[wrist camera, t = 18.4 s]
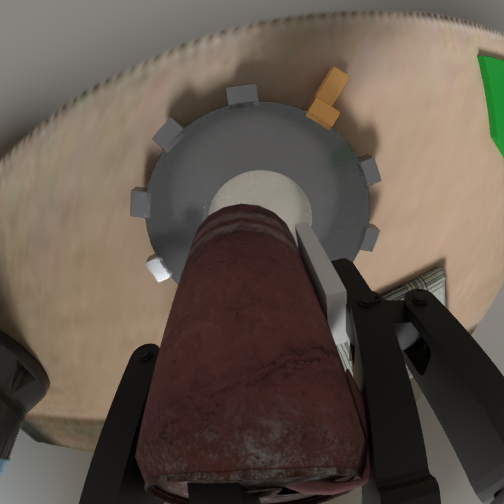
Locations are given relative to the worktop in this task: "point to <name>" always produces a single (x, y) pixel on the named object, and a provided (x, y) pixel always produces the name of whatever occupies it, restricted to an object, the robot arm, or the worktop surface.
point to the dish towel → (427, 281)
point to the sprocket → (256, 177)
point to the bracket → (494, 96)
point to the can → (251, 375)
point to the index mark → (331, 86)
